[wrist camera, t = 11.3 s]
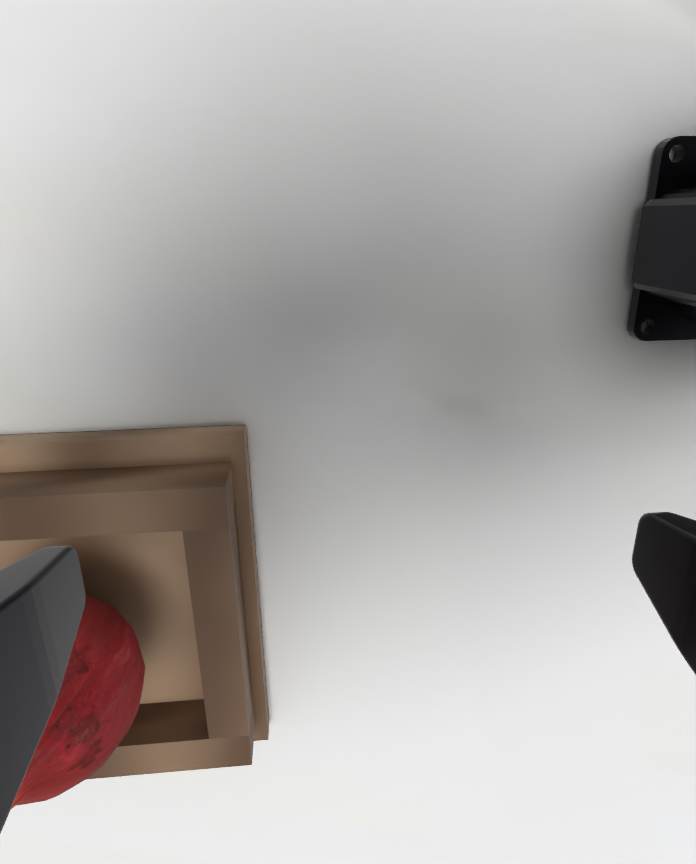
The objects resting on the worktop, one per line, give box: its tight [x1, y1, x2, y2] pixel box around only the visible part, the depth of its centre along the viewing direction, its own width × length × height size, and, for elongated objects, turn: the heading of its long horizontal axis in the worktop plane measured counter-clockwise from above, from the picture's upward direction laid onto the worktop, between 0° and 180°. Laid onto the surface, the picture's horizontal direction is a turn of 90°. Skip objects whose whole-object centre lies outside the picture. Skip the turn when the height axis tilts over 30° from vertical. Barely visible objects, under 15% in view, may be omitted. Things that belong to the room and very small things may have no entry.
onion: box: [11, 594, 145, 809], centre depth 18 cm, size 6×6×8 cm
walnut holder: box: [0, 425, 269, 779], centre depth 21 cm, size 13×14×3 cm
